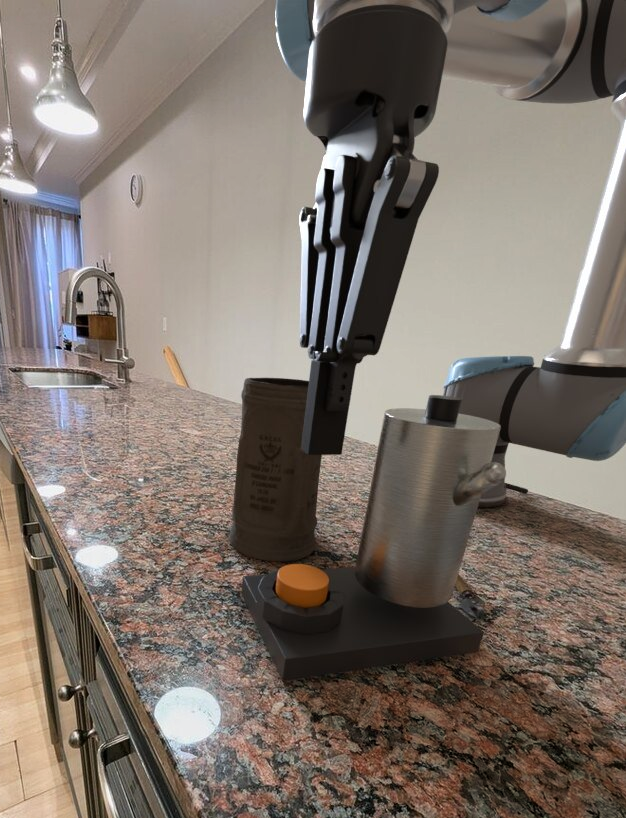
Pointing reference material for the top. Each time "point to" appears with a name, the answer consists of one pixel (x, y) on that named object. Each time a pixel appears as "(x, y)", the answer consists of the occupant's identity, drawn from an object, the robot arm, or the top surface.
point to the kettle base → (352, 628)
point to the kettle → (425, 501)
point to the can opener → (469, 599)
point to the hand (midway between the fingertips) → (321, 451)
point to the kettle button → (302, 585)
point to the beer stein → (274, 474)
